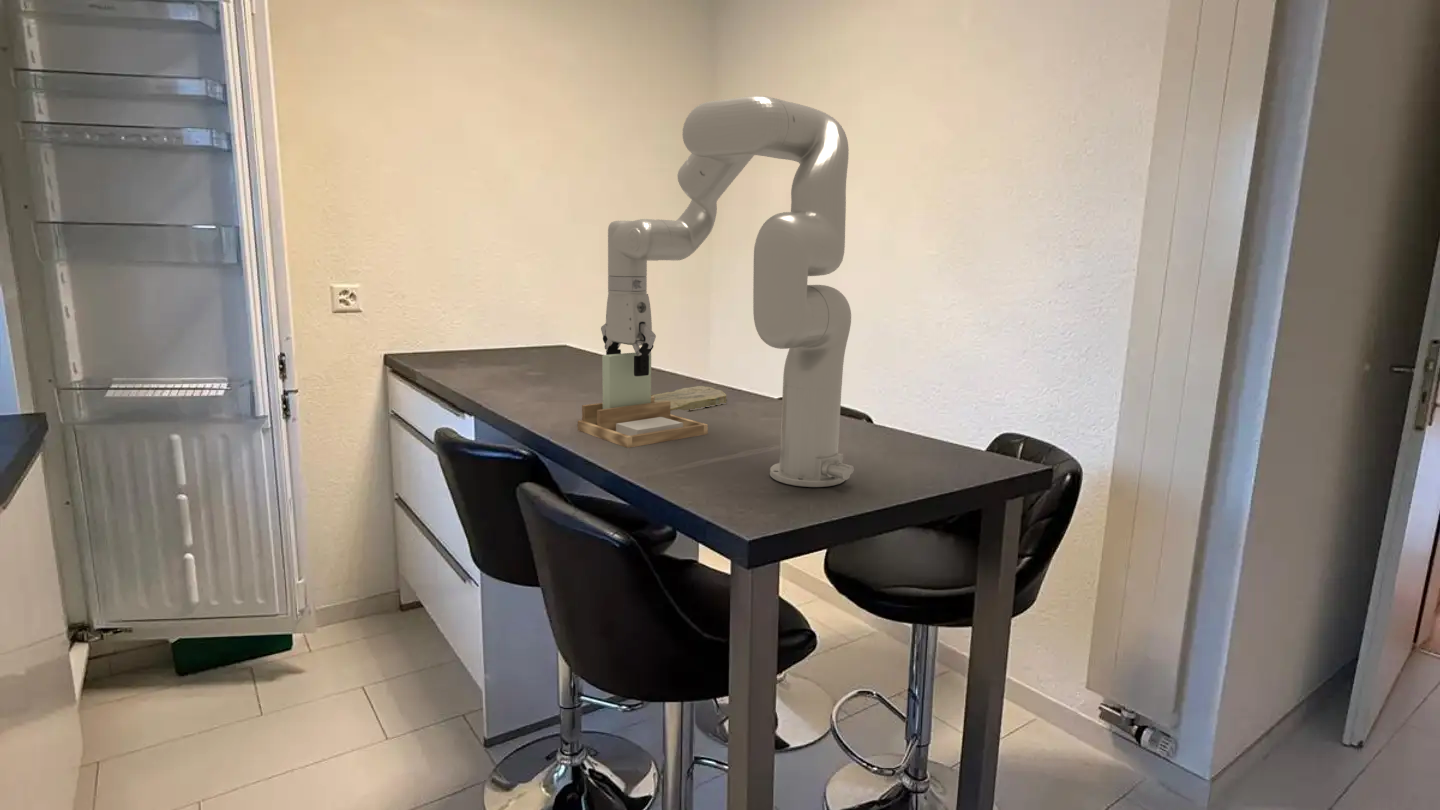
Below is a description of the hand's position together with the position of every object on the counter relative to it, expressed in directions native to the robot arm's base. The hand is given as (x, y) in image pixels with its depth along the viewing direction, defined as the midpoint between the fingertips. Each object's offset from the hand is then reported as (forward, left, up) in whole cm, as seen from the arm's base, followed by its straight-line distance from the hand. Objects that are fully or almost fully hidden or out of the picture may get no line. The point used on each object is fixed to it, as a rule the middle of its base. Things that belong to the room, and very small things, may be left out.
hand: (627, 372), depth 158 cm
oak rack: (-5, 0, -12) cm, 13 cm away
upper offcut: (-8, 0, -11) cm, 13 cm away
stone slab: (+15, -26, -13) cm, 33 cm away
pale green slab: (0, 0, -12) cm, 12 cm away
